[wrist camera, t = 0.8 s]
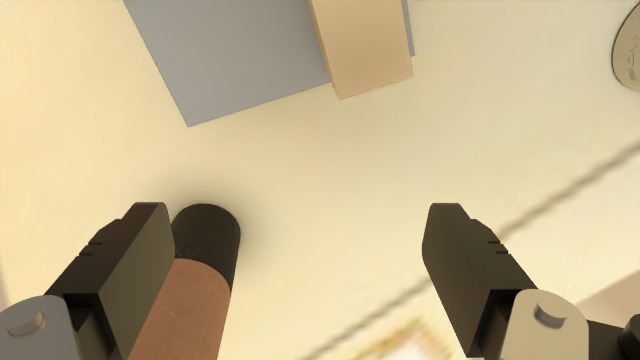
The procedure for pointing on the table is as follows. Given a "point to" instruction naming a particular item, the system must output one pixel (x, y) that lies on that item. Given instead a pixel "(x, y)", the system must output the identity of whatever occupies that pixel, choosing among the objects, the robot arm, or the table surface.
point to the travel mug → (193, 289)
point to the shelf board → (232, 51)
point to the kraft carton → (361, 43)
